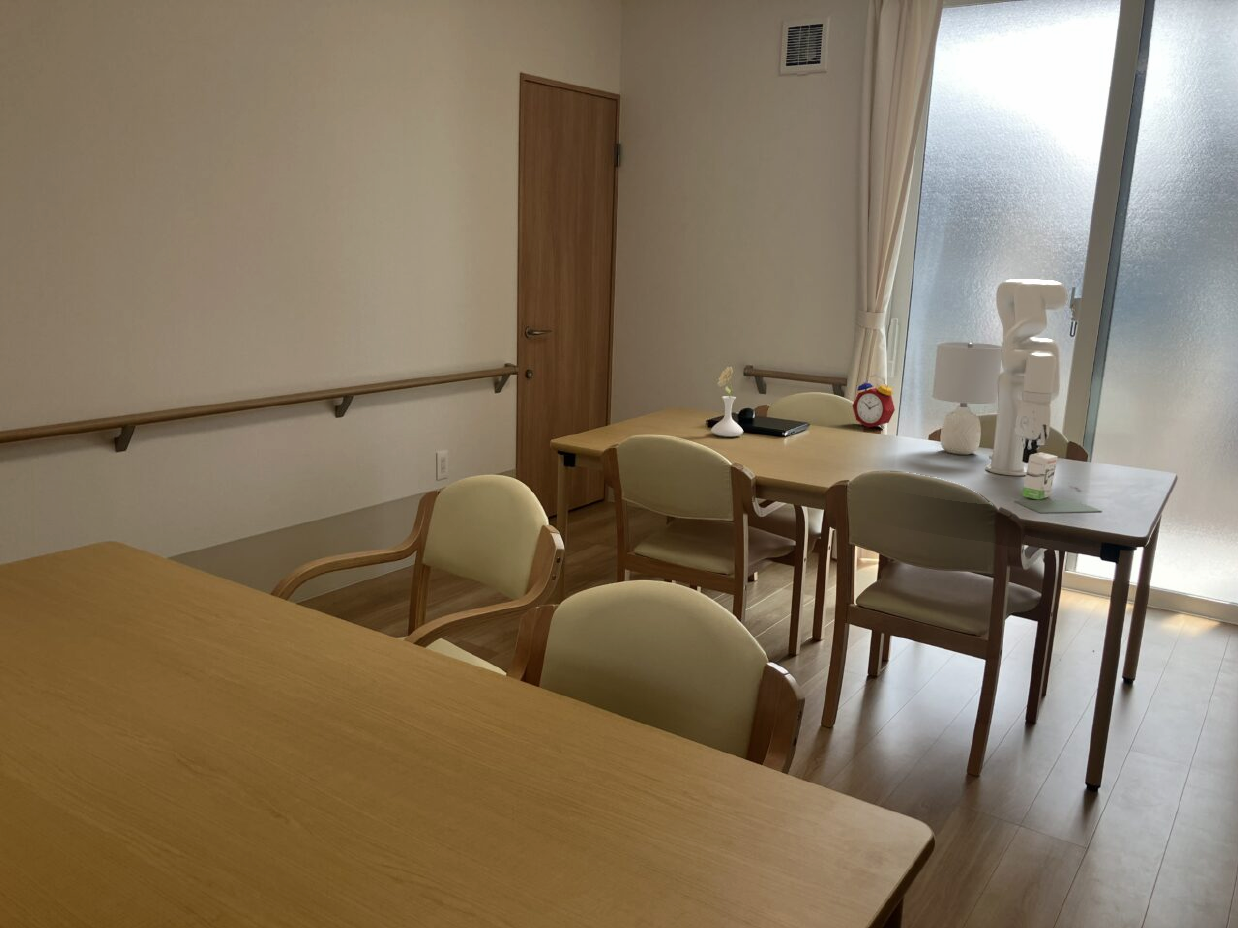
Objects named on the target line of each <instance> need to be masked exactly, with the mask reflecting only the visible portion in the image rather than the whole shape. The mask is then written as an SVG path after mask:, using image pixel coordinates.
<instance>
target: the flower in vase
mask: <svg viewBox="0 0 1238 928" xmlns="http://www.w3.org/2000/svg"><path fill="white" fill-rule="evenodd" d="M733 372H734V370H733V367H732V366H727V367H726V368H725V369H724V370H723V371H722V372H721V374H720V377H718V382H717V385H718V387H719V388H720V387H723V386H725V385H726V384H728V382H729V385H730V387H728V385H726V386H725V387H724V390H725V391H726V393H728V394H729V395H726V396H725V395H724V396H721V399H722V401H723V403H724V416H723V418H722V419H721V420H719V422H717V423H716V424H714V425H713V426H712V427H711V429H710V432H711V433H712V434H714V435H716V436H719V437H739V436H740V435H742V434H743V433H744V430H743V428H742V427H741V426H740V425H739V424H738V422H736V421H735V420H734V419H733V417H732V409H733V404H734V402H735V400H736V399H737V397H736V396H733V391H734V388H733V387H732V383H731V381H730V379H731V378H732V374H733Z"/></svg>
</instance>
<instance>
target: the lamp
mask: <svg viewBox="0 0 1238 928" xmlns="http://www.w3.org/2000/svg"><path fill="white" fill-rule="evenodd" d="M1001 347H1002V345H997V344H991V343H983V342H982V343H979V342H966V341H965V342H964V341H963V342H962V341H943V342H937V347H936V358H935V366H934V367H935V369H934V377H933V389H932V398H933V399H935V400H939V401H941V402H942V401H943V402H950V403H958V404H960V405H957V407H956V408H955V409H954V411H950V412H948V414H946V415H945V417H944V420H943V422H942V425H941V431H940V437H939V438H940V439H939V440H940V445H941V448H942V449H943V450H944V451H945V452H946V453H948V454H953V455H959V456H960V455H961V456H964V455H967V456H968V455H972V454H973V453H975V452H976V451H977V450H978V448H979V446H980V443H981V434H982V433H981V431H982V430H981V421H980V418H979V416H978V415H977V414H975V413H973V412H972V410H971V408H970V406H969V405H988V404H989V405H990V404H996V403H998V378H999V376H1000V374H1001V368H1002V357H1001ZM968 404H969V405H968Z"/></svg>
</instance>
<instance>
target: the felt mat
mask: <svg viewBox="0 0 1238 928" xmlns="http://www.w3.org/2000/svg"><path fill="white" fill-rule="evenodd" d="M1013 502H1014V503H1016V504H1019V505H1021V506H1023V507H1025V508H1028V509H1029V510H1032V511H1034V512H1036V513H1038V514H1064V513H1065V514H1068V513H1069V514H1074V513H1076V514H1077V513H1078V514H1079V513H1080V514H1081V513H1102V512H1103V511H1102V510H1100V509H1098V508H1096V507H1093V506H1091V505H1089V504H1086V503H1083V502H1081V501H1079V500H1076V499H1072V498H1071V499H1070V498H1069V499H1040V500H1037V499H1030V500H1029V499H1025V500H1023V499H1022V500H1021V499H1020V500H1013Z"/></svg>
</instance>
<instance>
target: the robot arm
mask: <svg viewBox="0 0 1238 928" xmlns="http://www.w3.org/2000/svg"><path fill="white" fill-rule="evenodd" d="M1067 296H1068V294H1067V289H1066V287H1065V286H1064V284H1063V283H1062V282H1059V281H1056V280H1046V279H1045V280H1044V279H1043V280H1042V279H1025V278H1024V279H1021V278H1019V279H1017V278H1016V279H1008V280H1004V281H1002V282H1000V284H999V285H998V287H997V289H996V297H995V301H996V302H995V303H996V309H997V313H998V316H999V318H1000V322H1001V326H1002V343H1001V346H1002V347H1001V357H1002V360H1001V368H1002V370H1003V371H1002V372H1000V376H999V378H998V395H997V411H996V413H997V415H996V424H995V430H994V441H993V448H992V449H993V450H992V454H989V455H988V459H989V460H991V461H990V463H989V464H986V466H985V471H988V472H991V473H994V474H998V475H1004V476H1018V477H1019V476H1020V477H1021V476H1026V473H1027V467H1026V466H1025V465H1026V464H1028V462H1029V457H1030V455H1031V454H1035V453H1038V451H1039V449H1040V446H1044V445H1045V443H1046V440H1047V439H1048V438H1049V434H1050V428H1051V405H1052V403H1053V402H1055V401H1057V400H1058V397H1059V395H1060V386H1061V383H1060V376H1061V375H1060V372H1061V371H1060V350H1059V346H1058V344H1057V342H1056V341H1055V340H1053V339H1050V338H1040V337H1035V336H1038V335H1040V334H1042V333H1043V332H1044V331H1045V330H1046V328H1047V326H1048V320H1047V319H1048V318H1047V312H1061V311H1062V310H1064V308H1065V306H1066V305H1067V300H1068V299H1067V298H1068V297H1067Z"/></svg>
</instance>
